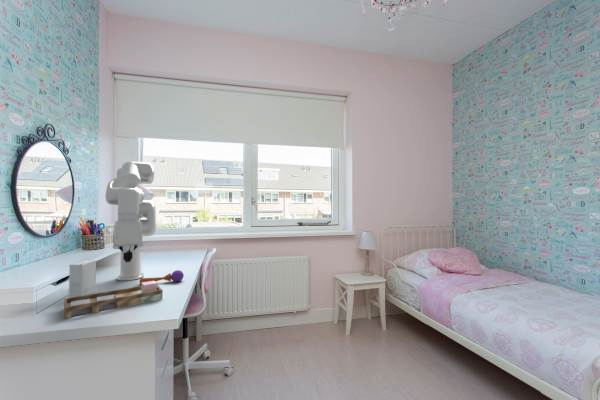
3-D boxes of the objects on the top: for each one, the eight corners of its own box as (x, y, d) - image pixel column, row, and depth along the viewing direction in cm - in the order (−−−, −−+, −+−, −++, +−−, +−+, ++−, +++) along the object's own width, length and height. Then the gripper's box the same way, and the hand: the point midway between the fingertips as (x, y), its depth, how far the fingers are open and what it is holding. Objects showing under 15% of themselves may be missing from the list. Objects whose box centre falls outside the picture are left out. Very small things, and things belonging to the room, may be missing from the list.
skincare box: (83, 292, 126) (84, 259, 126) (96, 292, 125) (97, 259, 126) (67, 298, 117) (68, 263, 117) (81, 298, 117) (82, 264, 117)
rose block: (141, 291, 119) (141, 282, 119) (154, 289, 122) (154, 280, 122) (143, 294, 115) (143, 285, 115) (156, 292, 119) (156, 283, 119)
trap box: (63, 319, 97) (63, 307, 97) (64, 309, 106) (64, 298, 106) (162, 299, 117) (162, 289, 117) (155, 292, 126) (155, 283, 126)
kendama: (141, 275, 141) (183, 269, 148) (142, 287, 140) (184, 280, 147) (139, 276, 136) (182, 269, 143) (139, 288, 135) (183, 281, 142)
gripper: (146, 216, 122) (146, 257, 122) (105, 217, 113) (105, 262, 113) (150, 217, 116) (149, 260, 117) (107, 219, 107) (107, 266, 107)
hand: (127, 261), depth 115 cm, fingers closed
